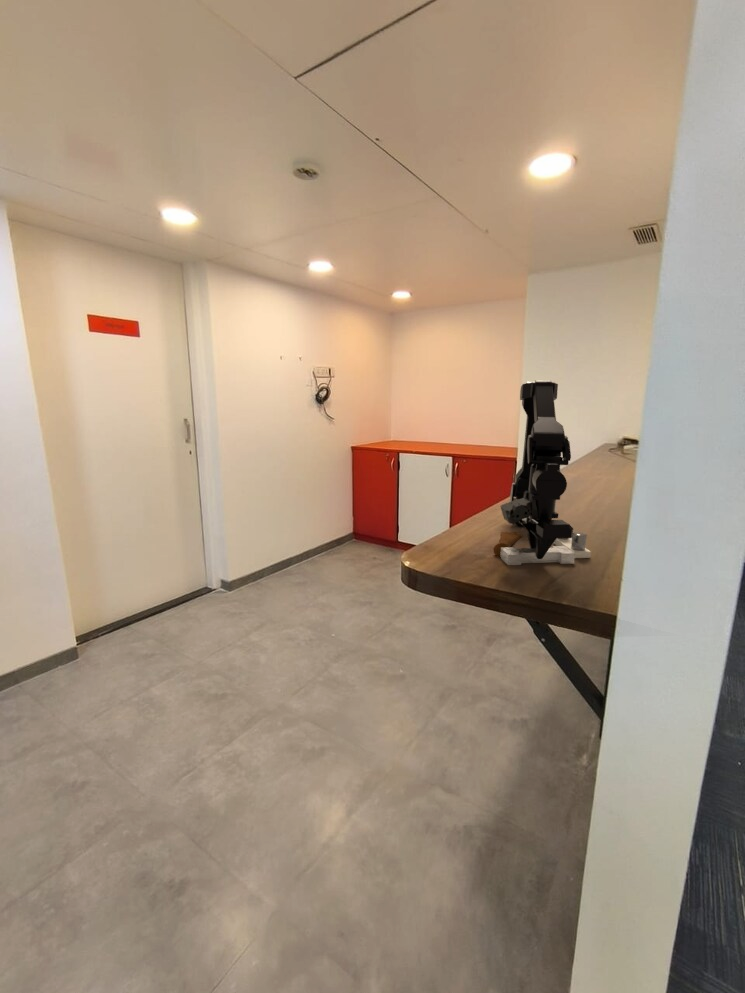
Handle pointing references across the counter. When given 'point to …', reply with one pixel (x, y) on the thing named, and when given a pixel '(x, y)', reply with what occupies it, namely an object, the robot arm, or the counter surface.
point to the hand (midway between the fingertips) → (536, 556)
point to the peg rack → (575, 544)
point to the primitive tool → (506, 541)
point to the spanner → (530, 555)
